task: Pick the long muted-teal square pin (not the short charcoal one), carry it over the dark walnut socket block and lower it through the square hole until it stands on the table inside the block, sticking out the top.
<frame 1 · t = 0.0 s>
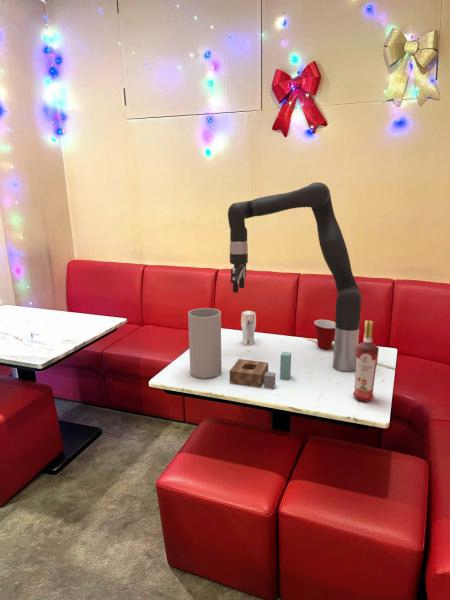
hand: (238, 290, 181), 29 cm above the table, tool pointing down, fingers open, 8 cm apart
cylinder vase: (205, 373, 171), on the table
long pin: (285, 377, 165), on the table
beer glass: (248, 343, 202), on the table
plastic cup: (324, 348, 196), on the table
socket block: (249, 378, 165), on the table
liquor: (363, 398, 149), on the table
short pin: (269, 386, 158), on the table
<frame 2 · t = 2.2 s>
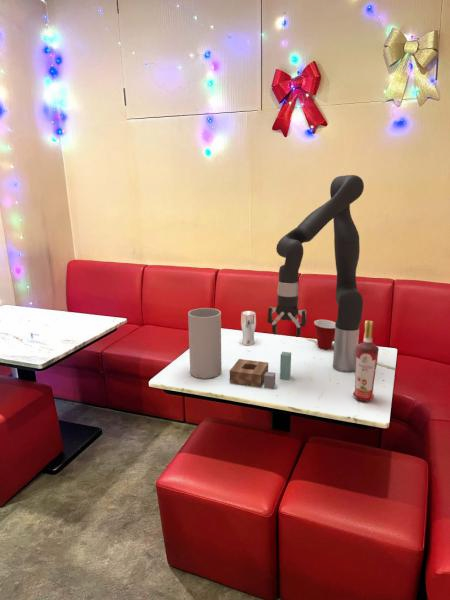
hand: (286, 335, 161), 17 cm above the table, tool pointing down, fingers open, 8 cm apart
nothing on the table moved.
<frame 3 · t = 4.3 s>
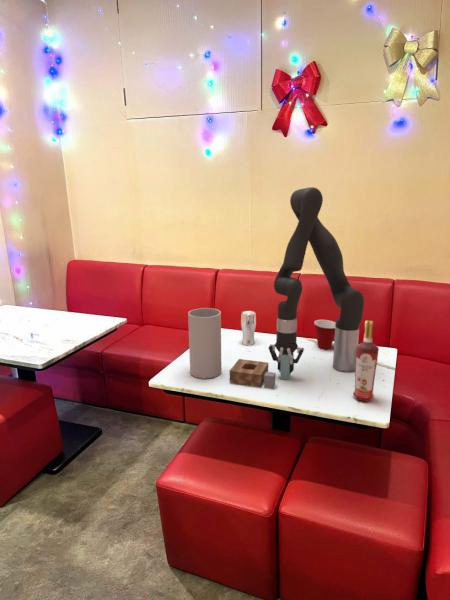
hand: (285, 371, 165), 3 cm above the table, tool pointing down, fingers closed on long pin, 3 cm apart
long pin: (285, 377, 165), on the table, touching gripper
everything else where it was.
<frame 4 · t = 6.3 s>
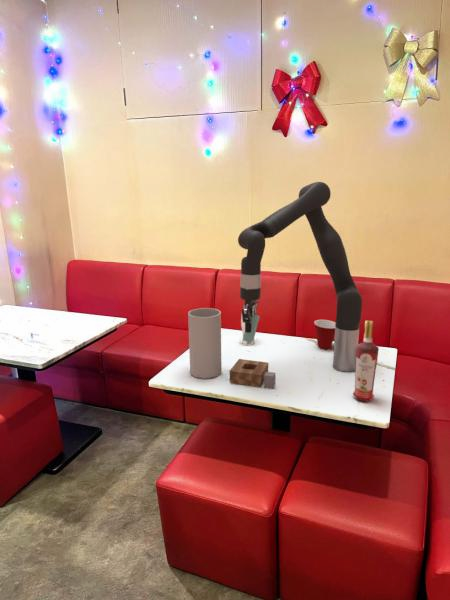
hand: (249, 330, 160), 20 cm above the table, tool pointing down, fingers closed on long pin, 3 cm apart
long pin: (248, 340, 161), point 16 cm above the table, tilted 14°, touching gripper
everything else where it was.
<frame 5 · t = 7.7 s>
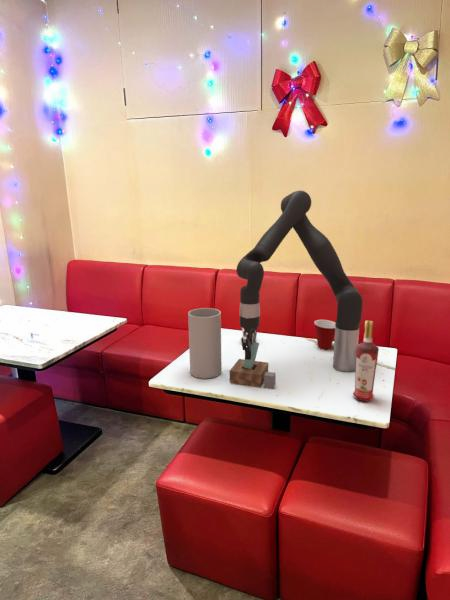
hand: (249, 357, 163), 9 cm above the table, tool pointing down, fingers closed on long pin, 3 cm apart
long pin: (248, 366, 164), point 5 cm above the table, tilted 13°, touching gripper
everything else where it was.
when the fingers open (6 cm above the table, at t = 8.5 s): long pin drops 2 cm, on the table.
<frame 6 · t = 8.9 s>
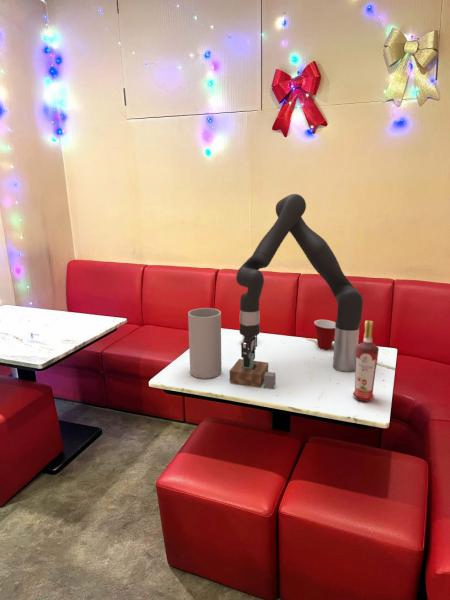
hand: (249, 362, 163), 7 cm above the table, tool pointing down, fingers open, 6 cm apart
long pin: (248, 378, 165), on the table
everything else where it was.
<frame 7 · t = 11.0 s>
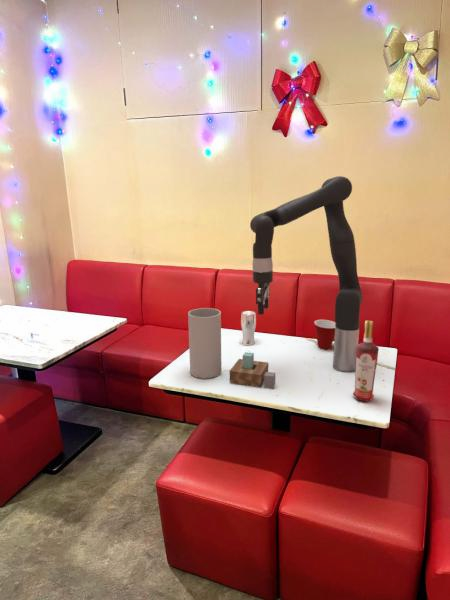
hand: (263, 311, 164), 25 cm above the table, tool pointing down, fingers open, 8 cm apart
nothing on the table moved.
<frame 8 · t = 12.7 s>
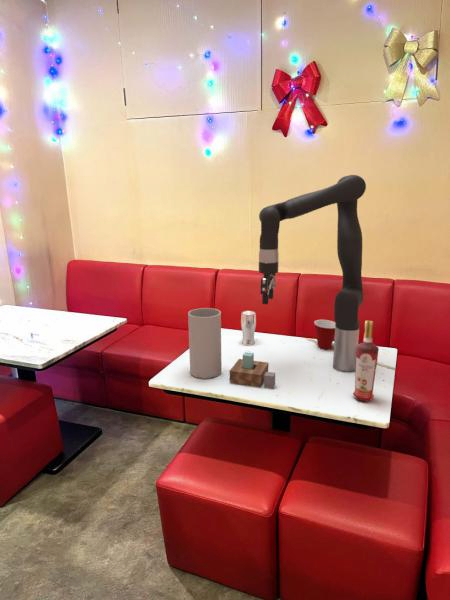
hand: (267, 301, 167), 28 cm above the table, tool pointing down, fingers open, 8 cm apart
nothing on the table moved.
at the end: long pin 0.5 cm off-centre on the socket block, point 0.0 cm above the socket block's base; long pin tilted 0°; the gripper is holding nothing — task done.
